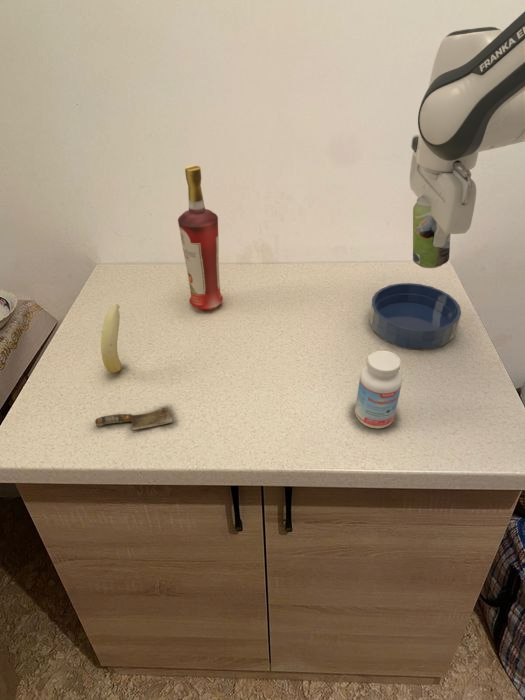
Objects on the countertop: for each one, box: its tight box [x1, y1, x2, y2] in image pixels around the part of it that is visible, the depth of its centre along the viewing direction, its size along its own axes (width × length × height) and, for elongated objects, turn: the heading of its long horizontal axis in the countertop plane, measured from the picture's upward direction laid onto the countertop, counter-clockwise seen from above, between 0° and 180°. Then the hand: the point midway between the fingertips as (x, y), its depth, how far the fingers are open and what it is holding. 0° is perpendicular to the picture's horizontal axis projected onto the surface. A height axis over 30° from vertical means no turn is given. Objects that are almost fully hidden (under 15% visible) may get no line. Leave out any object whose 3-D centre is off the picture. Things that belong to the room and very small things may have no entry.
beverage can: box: [412, 196, 451, 269], centre depth 85 cm, size 6×7×12 cm
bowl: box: [368, 282, 462, 351], centre depth 96 cm, size 16×16×4 cm
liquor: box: [177, 165, 224, 312], centre depth 95 cm, size 7×7×28 cm
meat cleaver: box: [94, 406, 174, 431], centre depth 78 cm, size 12×1×5 cm
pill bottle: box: [354, 350, 403, 429], centre depth 75 cm, size 6×6×11 cm
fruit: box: [100, 303, 122, 374], centre depth 84 cm, size 6×12×3 cm
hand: (430, 235), depth 86 cm, fingers closed on beverage can, 5 cm apart
